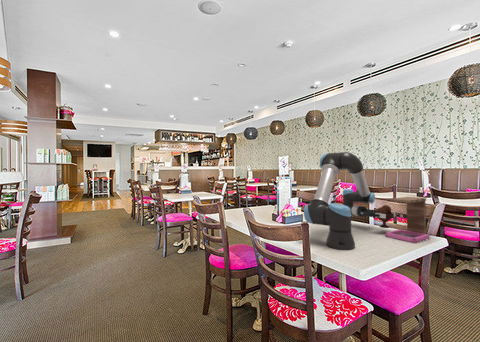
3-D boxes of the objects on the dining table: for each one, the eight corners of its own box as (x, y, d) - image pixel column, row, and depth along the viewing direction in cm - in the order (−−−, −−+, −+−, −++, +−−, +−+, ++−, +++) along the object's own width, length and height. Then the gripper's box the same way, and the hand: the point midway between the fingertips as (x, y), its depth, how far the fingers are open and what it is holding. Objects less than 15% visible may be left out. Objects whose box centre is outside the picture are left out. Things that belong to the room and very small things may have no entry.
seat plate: (415, 243, 139) (414, 238, 139) (385, 236, 154) (385, 232, 154) (429, 238, 147) (429, 234, 147) (400, 233, 162) (399, 229, 162)
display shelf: (410, 242, 141) (409, 200, 142) (391, 237, 151) (390, 198, 151) (428, 237, 151) (427, 198, 151) (408, 233, 161) (408, 196, 161)
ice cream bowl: (388, 225, 168) (387, 203, 168) (397, 229, 157) (396, 206, 157) (372, 225, 169) (372, 203, 169) (380, 229, 158) (379, 206, 158)
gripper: (369, 214, 184) (400, 219, 165) (349, 217, 173) (380, 223, 154) (369, 204, 184) (399, 208, 165) (349, 207, 173) (379, 211, 154)
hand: (390, 215), depth 159 cm, fingers closed on ice cream bowl, 11 cm apart
